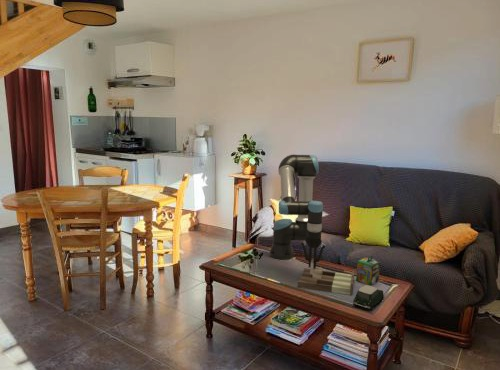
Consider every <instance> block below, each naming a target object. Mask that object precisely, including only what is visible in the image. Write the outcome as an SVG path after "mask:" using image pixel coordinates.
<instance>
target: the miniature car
mask: <svg viewBox="0 0 500 370" xmlns="http://www.w3.org/2000/svg"><path fill="white" fill-rule="evenodd" d="M384 299H385V296H384V291H383V290H381V289H378V288H377V287H375V286H373V285H371V286H370V285H368V284H365V285H362V286H361V287H360V288H358V289H357V292H356V294H355V296H354V298H353V301H352V303H353V305H354V306H356V305H358V306H361V307H364V308H365V309H366V308H367V309H368V310H370V311H373V310H374V309H375V306H376V305H377V304H378V303H379V302H383V301H384ZM382 300H383V301H382ZM372 309H373V310H372Z"/></svg>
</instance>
